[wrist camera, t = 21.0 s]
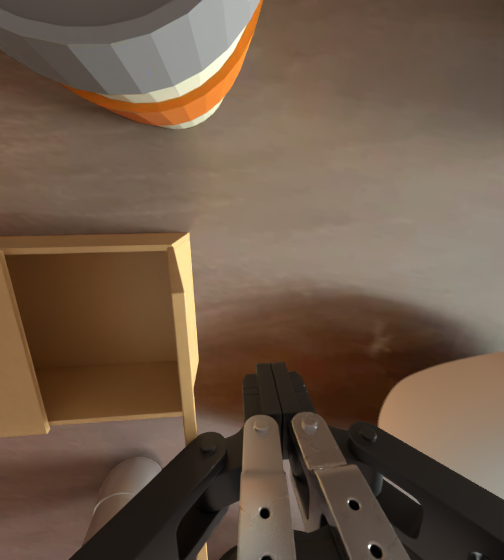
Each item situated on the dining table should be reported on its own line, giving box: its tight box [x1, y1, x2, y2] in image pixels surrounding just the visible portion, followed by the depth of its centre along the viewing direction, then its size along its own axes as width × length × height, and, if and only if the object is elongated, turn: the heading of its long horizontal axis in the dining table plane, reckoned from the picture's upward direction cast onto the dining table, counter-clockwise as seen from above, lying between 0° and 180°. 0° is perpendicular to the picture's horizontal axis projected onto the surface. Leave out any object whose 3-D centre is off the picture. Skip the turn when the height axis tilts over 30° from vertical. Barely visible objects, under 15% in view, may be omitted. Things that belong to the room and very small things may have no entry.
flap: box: [167, 247, 208, 560], centre depth 13 cm, size 9×13×1 cm
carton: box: [0, 233, 199, 437], centre depth 21 cm, size 19×13×8 cm
